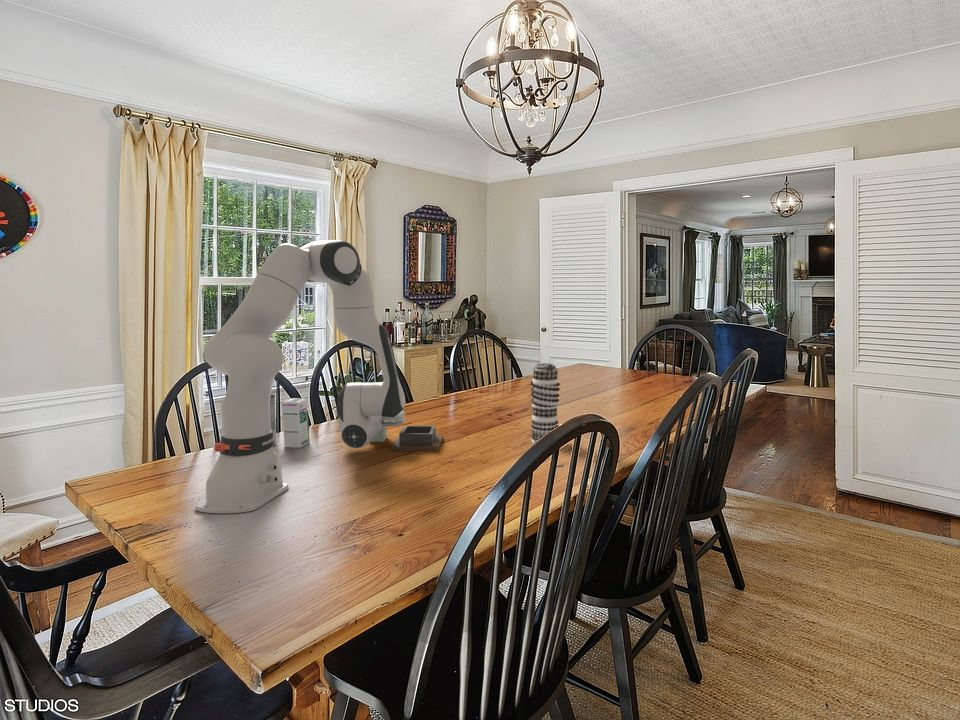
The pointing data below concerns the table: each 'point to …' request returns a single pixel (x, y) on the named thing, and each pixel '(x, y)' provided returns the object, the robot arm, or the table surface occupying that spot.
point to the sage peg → (380, 435)
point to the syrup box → (295, 422)
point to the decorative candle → (544, 400)
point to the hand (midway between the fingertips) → (377, 411)
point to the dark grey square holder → (418, 439)
